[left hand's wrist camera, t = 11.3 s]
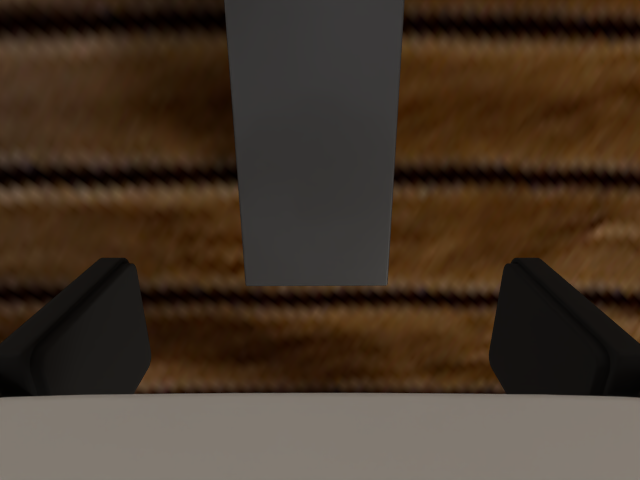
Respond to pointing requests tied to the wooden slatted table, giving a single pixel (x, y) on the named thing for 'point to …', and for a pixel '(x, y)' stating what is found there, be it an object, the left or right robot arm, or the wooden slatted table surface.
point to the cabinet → (315, 137)
